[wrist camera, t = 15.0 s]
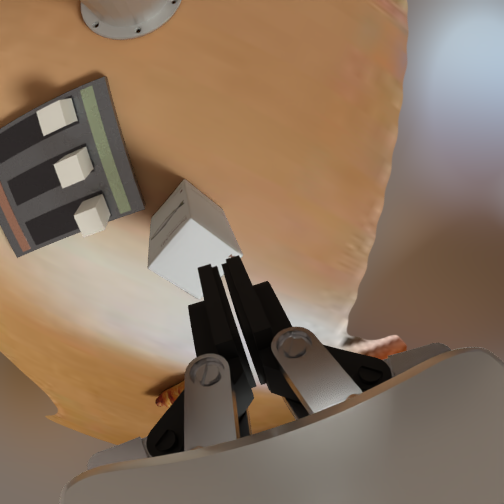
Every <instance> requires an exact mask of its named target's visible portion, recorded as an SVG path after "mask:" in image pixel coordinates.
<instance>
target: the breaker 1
mask: <svg viewBox="0 0 504 504" xmlns="http://www.w3.org/2000/svg"><path fill="white" fill-rule="evenodd" d="M37 116H38V120H39V123H40V126H41V130H42V133H43V136H45V135H47V134H49V133H51V132H54V131H56V130H58V129H60V128H62V127H64V126H67V125H69V124H71V123H73V122H75V121H78V120H77V116H76V113H75V109H74V106H73V102H72V98H69V99H63V100H58V101H56V102H54V103H52V104H50V105H48V106H46V107H44V108H42V109H40V110H39V111H37Z"/></svg>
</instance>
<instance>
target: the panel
mask: <svg viewBox="0 0 504 504" xmlns="http://www.w3.org/2000/svg"><path fill="white" fill-rule="evenodd" d="M69 98H72V102H73V106H74V109H75V113H76V116H77V120H78V121H75V122H73V123H71V124H69V125H67V126H64V127H62V128H60V129H58V130H56V131H54V132H51V133H49V134H47V135H45V136H43V133H42V130H41V126H40V123H39V120H38V116H37V111H39V110H40V109H42V108H44V107H46V106H48V105H50V104H52V103H54V102H56V101H58V100H63V99H69ZM84 147H86V148H87V151H88V154H89V157H90V160H91V162H92V165H93V168H94V169H93V170H92V171H91V172H90V174H89V175H88V176H87V177H86V179H84V180H82V181H79V182H77V183H75V184H72V185H70V186H68V187H65V188H62V186H61V183H60V181H59V178H58V175H57V173H56V170H55V167H54V164H55V163H56V162H58V161H59V160H60V159H61V158H63V157H64V156H65V155H68V154H70V153H72V152H74V151H77V150H79V149H81V148H84ZM101 194H103V196H104V199H105V202H106V204H107V207H108V209H109V212H110V214H111V215H110V217H109V220H108V222H109V221H112V220H114V219H117V218H120V217H123V216H126V215H129V214H132V213H135V212H138V211H141V210H144V209H145V202H144V199H143V197H142V194H141V191H140V188H139V185H138V182H137V179H136V176H135V173H134V170H133V167H132V164H131V161H130V157H129V154H128V151H127V148H126V145H125V141H124V138H123V135H122V131H121V128H120V124H119V121H118V117H117V114H116V110H115V106H114V103H113V99H112V95H111V91H110V87H109V83H108V79H107V77H105V76H104V77H102V78H99V79H97V80H94V81H92V82H89V83H87V84H85V85H82V86H80V87H78V88H76V89H73V90H71V91H69V92H67V93H65V94H62V95H60V96H58V97H56V98H54V99H52V100H50V101H48V102H46V103H44V104H42V105H41V106H39V107H37V108H35V109H33V110H31V111H29V112H28V113H26V114H24V115H22V116H21V117H19V118H17V119H16V120H14V121H12V122H11V123H9V124H7V125H6V126H4V127H3V128H1V129H0V225H1V227H2V229H3V231H4V233H5V235H6V237H7V239H8V241H9V243H10V245H11V247H12V249H13V251H14V253H15V254H16V256H17V258H18V257H20V256H22V255H25V254H27V253H29V252H32V251H34V250H37V249H39V248H41V247H44V246H46V245H49V244H51V243H54V242H56V241H59V240H61V239H64V238H66V237H69V236H71V235H74V234H76V233H79V232H81V231H80V229H79V227H78V225H77V222H76V220H75V218H74V214H75V213H76V211H77V209H78V208H79V206H80V205H81V203H82V202H83V201H85V200H88V199H90V198H93V197H95V196H98V195H101Z"/></svg>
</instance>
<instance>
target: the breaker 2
mask: <svg viewBox="0 0 504 504" xmlns="http://www.w3.org/2000/svg"><path fill="white" fill-rule="evenodd" d="M54 167H55V170H56V173H57V175H58V178H59V181H60V183H61V186H62V188H65V187H68V186H70V185H72V184H75V183H77V182H79V181H82V180H84V179H86V177H87V176H88V175H89V174H90V172H91V171H92V170H93V169H94V168H93V165H92V162H91V160H90V157H89V154H88V151H87V148H86V147H84V148H81V149H79V150H77V151H74V152H72V153H70V154H68V155H65V156H64V157H63V158H61V159H60V160H59V161H58V162H56V163H55V164H54Z"/></svg>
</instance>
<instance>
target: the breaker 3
mask: <svg viewBox="0 0 504 504" xmlns="http://www.w3.org/2000/svg"><path fill="white" fill-rule="evenodd" d="M110 215H111V214H110V212H109V209H108V207H107V204H106V202H105V199H104V196H103V194H101V195H98V196H95V197H93V198H90V199H88V200H85V201H83V202H82V203H81V205H80V206H79V208H78V209H77V211H76V213H75V214H74V218H75V220H76V222H77V225H78V227H79V229H80V231H81V233H82V235H83V238H84V237H87V236H89V235H92V234H95V233H98V232H100V231H103V230H105V228H106V226H107V223H108V220H109V217H110Z"/></svg>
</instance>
